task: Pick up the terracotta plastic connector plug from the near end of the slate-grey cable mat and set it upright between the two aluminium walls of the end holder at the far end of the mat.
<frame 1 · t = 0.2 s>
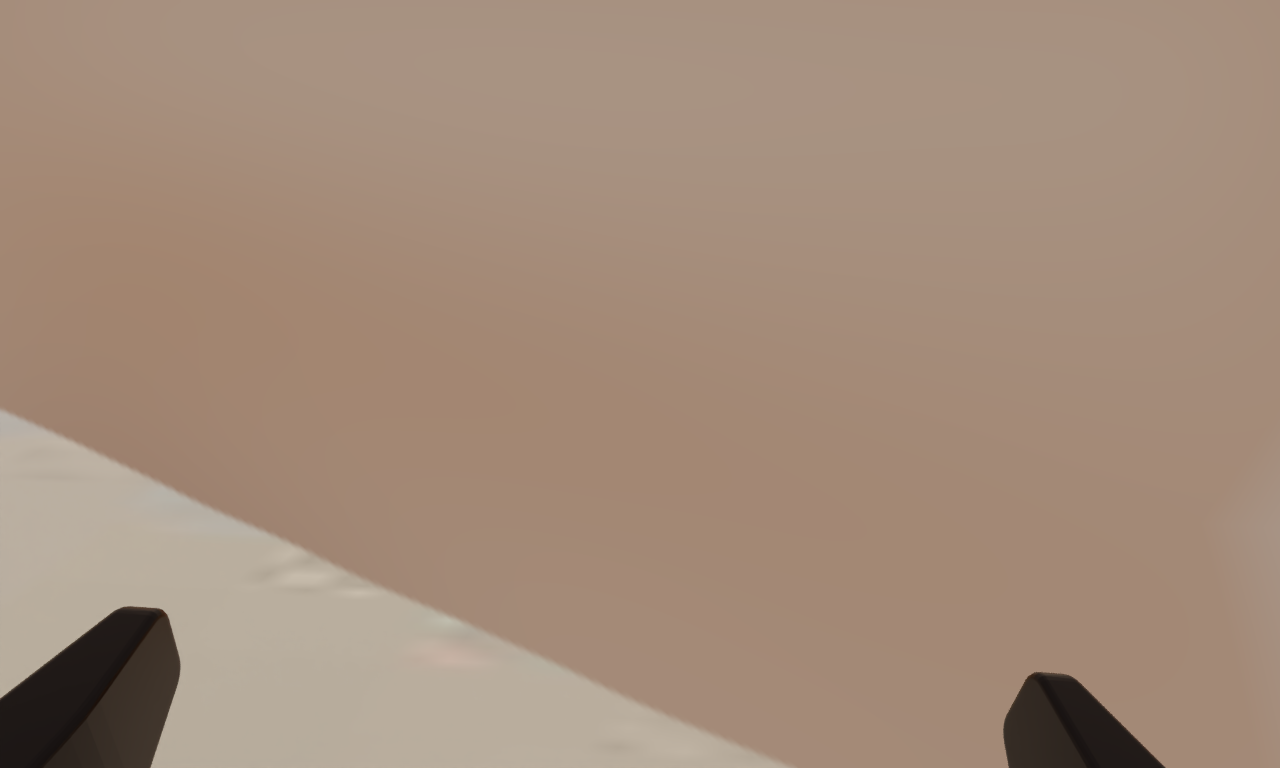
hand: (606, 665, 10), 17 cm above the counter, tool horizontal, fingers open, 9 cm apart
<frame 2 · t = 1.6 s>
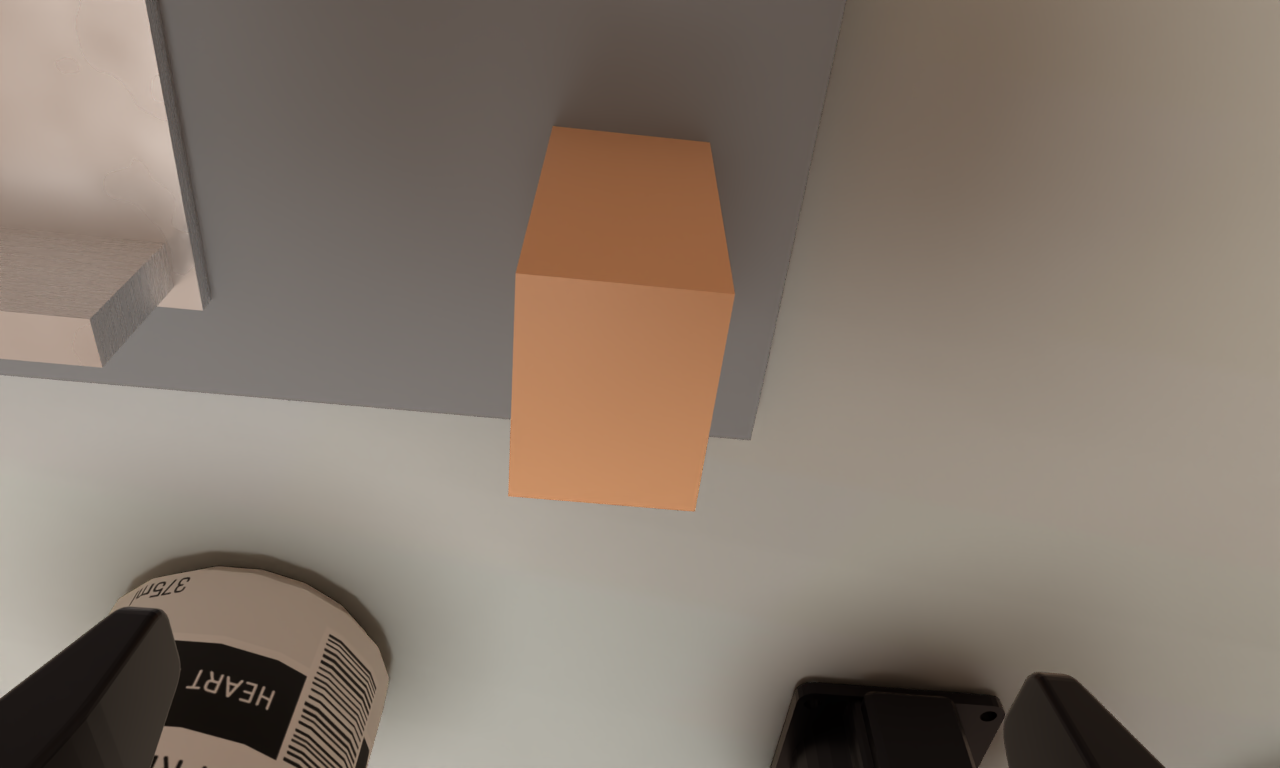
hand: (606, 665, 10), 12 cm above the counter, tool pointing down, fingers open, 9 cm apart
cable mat: (308, 128, 19), on the counter
supplement can: (259, 643, 28), on the counter
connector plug: (621, 230, 19), point 1 cm above the counter, touching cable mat
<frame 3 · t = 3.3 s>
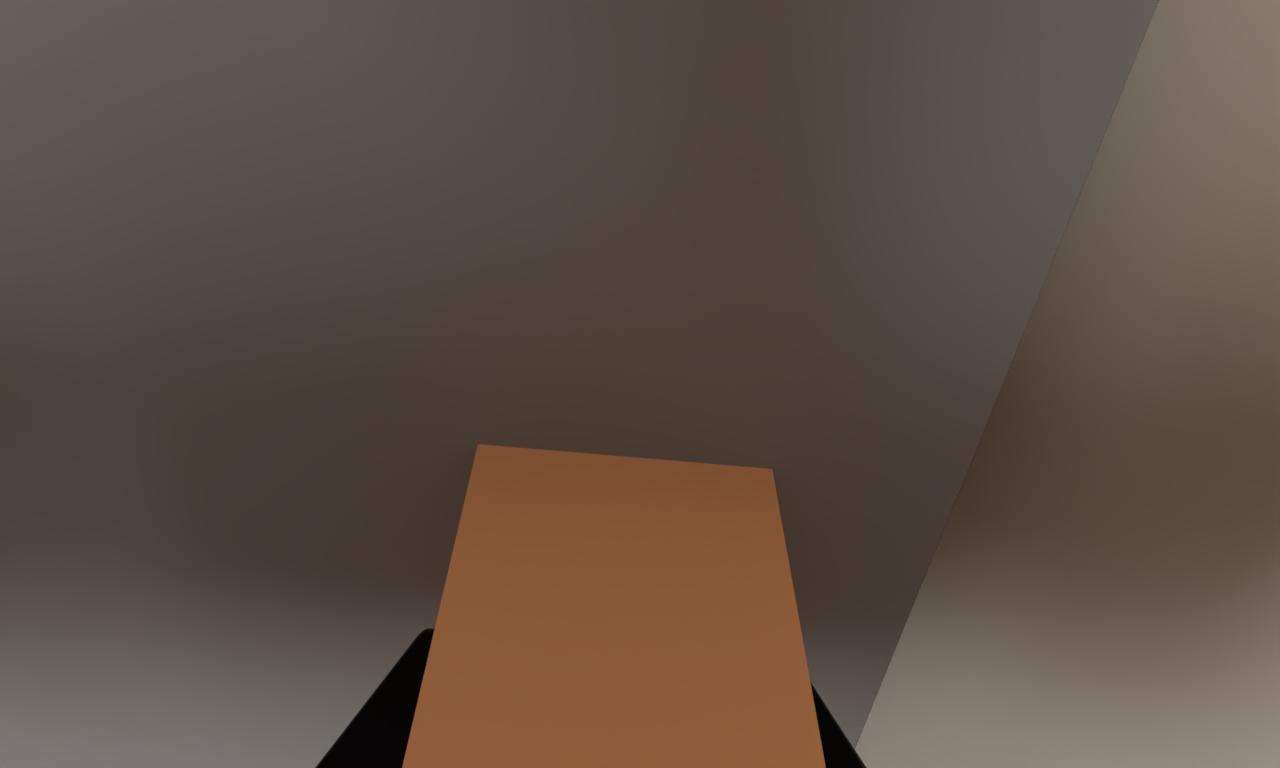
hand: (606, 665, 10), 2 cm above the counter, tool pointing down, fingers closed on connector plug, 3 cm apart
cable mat: (51, 409, 11), on the counter
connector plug: (609, 592, 10), point 1 cm above the counter, touching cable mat, gripper
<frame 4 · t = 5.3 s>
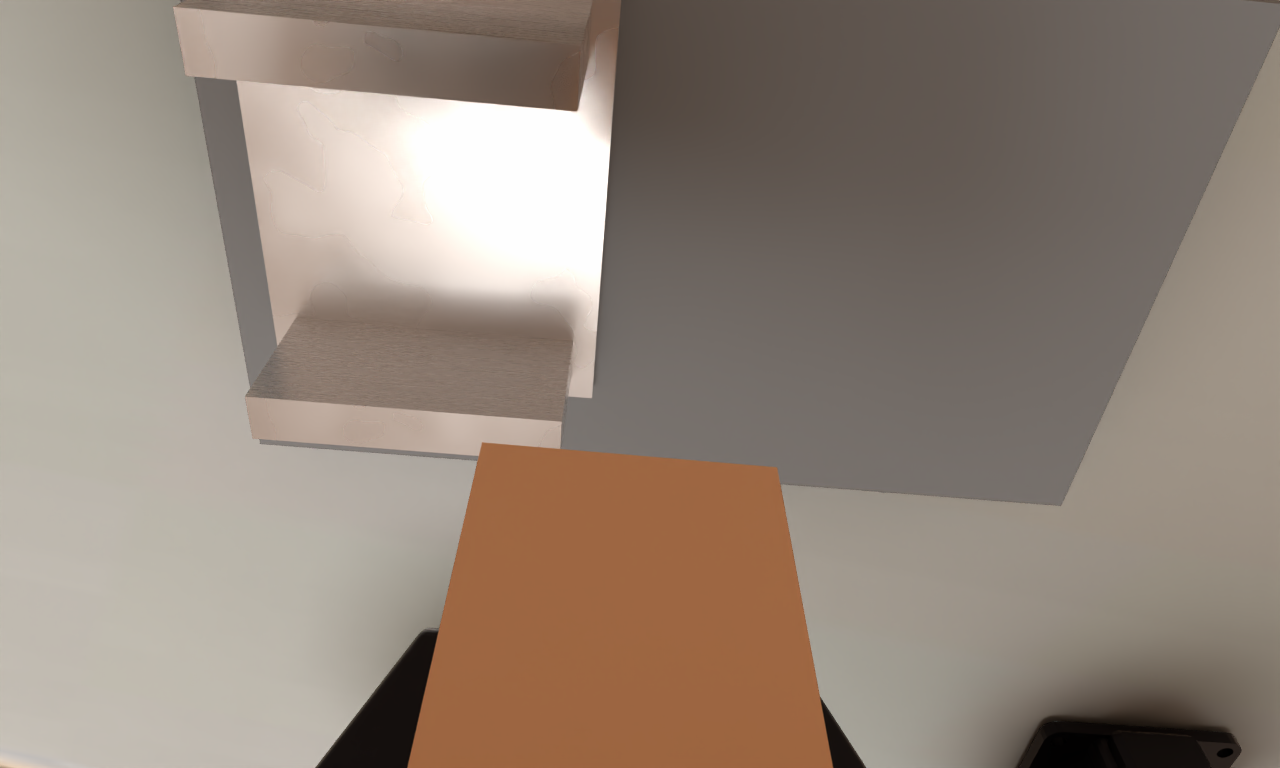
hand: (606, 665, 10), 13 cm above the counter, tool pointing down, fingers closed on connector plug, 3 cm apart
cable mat: (695, 233, 21), on the counter
end holder: (435, 190, 19), resting on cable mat
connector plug: (613, 591, 10), point 12 cm above the counter, touching gripper
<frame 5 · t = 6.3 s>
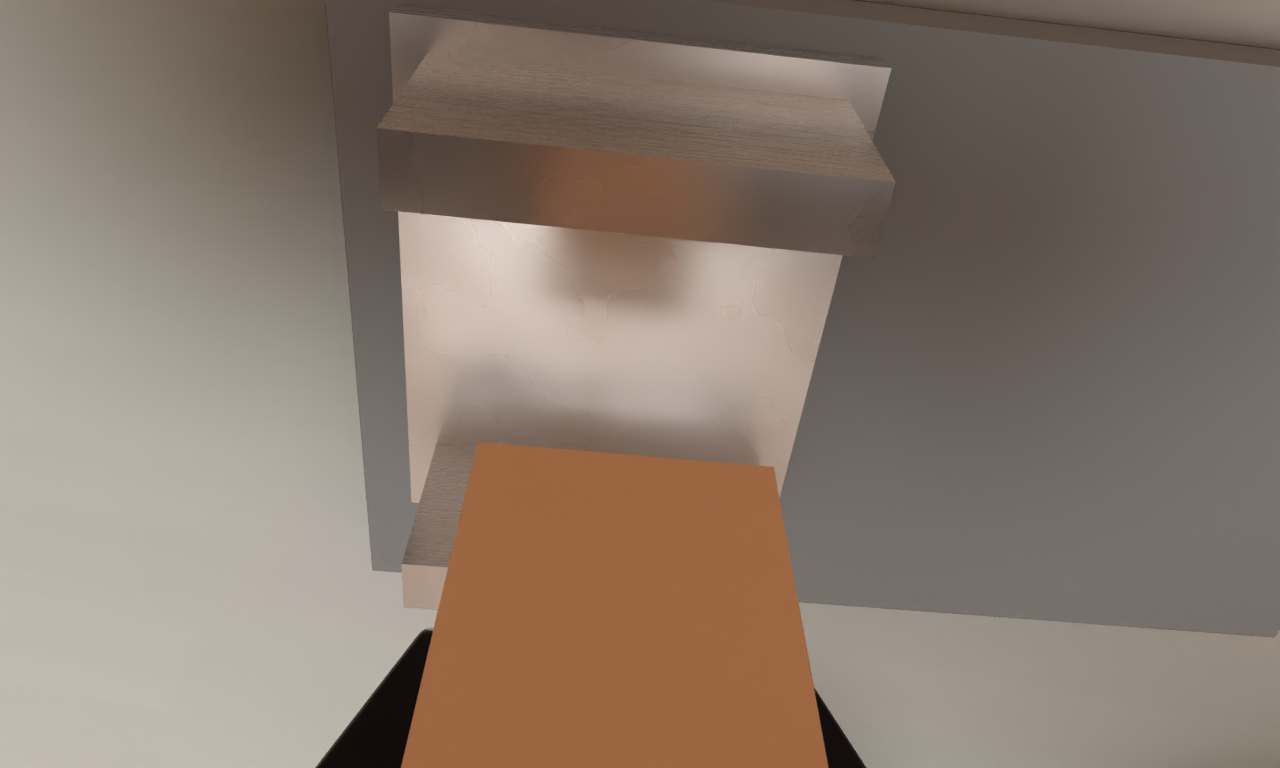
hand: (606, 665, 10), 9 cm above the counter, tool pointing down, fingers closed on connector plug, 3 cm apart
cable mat: (897, 344, 18), on the counter
end holder: (615, 303, 16), resting on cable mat
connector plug: (609, 590, 10), point 8 cm above the counter, touching gripper
when the fingers open (4 cm above the counter, at t = 7.3 s): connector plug drops 1 cm, resting on end holder.
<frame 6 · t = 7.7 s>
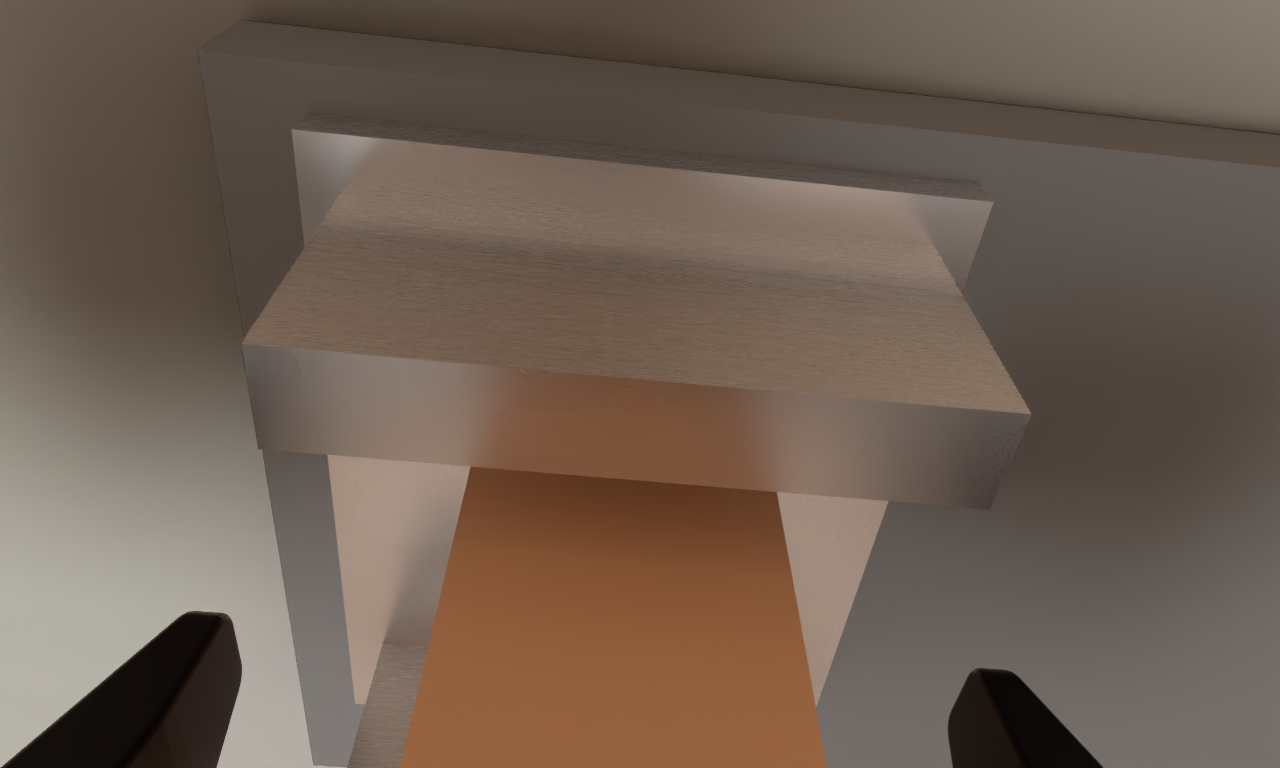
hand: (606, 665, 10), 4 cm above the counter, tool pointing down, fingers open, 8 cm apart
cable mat: (968, 505, 14), on the counter
end holder: (611, 477, 12), resting on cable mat
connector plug: (610, 500, 12), point 2 cm above the counter, touching end holder
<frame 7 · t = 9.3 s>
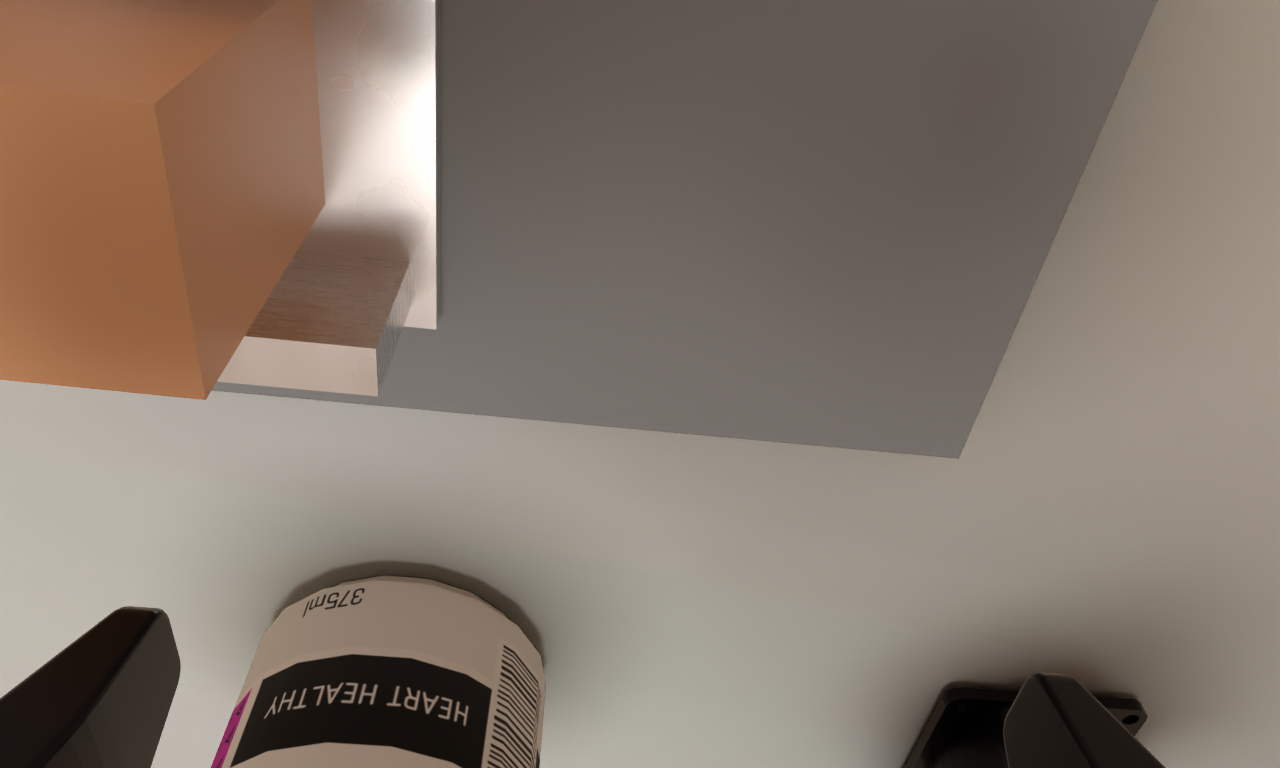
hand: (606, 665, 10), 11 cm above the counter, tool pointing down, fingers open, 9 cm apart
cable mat: (552, 144, 18), on the counter
supplement can: (410, 649, 28), on the counter
end holder: (238, 79, 16), resting on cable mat
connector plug: (228, 86, 16), point 2 cm above the counter, touching end holder
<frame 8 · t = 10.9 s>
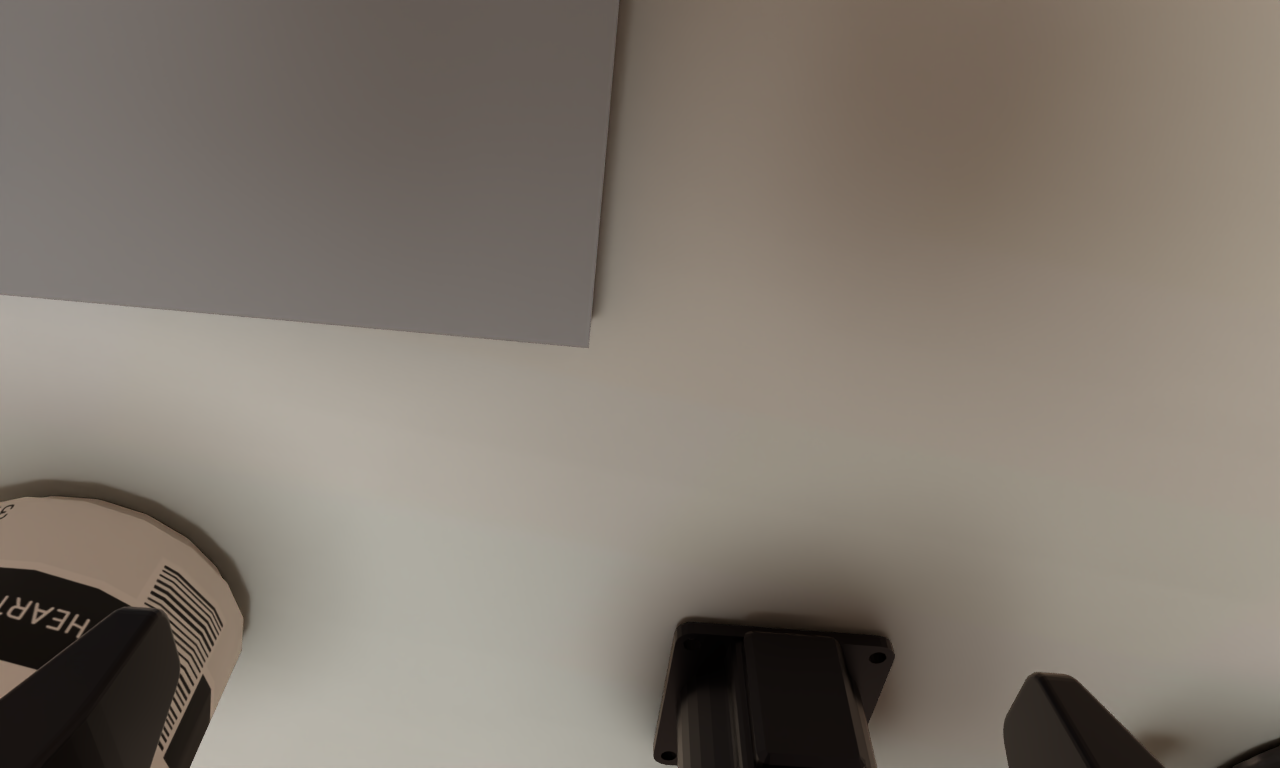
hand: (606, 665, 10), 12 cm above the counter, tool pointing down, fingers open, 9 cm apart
supplement can: (108, 582, 26), on the counter
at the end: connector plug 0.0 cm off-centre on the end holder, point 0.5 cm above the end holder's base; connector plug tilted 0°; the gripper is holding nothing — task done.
